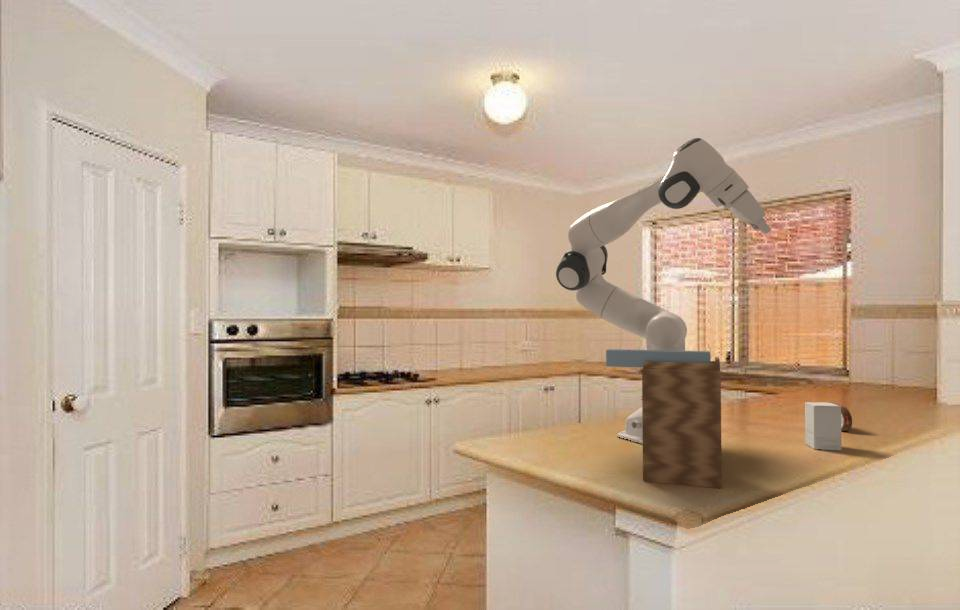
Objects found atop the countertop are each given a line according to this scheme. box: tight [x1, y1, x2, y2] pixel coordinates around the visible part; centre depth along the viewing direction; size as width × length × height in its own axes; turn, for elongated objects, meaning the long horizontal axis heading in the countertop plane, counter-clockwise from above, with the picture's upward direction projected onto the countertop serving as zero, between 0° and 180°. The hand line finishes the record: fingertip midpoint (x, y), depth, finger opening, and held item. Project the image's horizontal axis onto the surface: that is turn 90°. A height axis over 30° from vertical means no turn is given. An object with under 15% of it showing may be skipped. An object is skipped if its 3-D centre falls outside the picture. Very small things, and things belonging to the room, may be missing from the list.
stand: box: [641, 356, 723, 489], centre depth 139 cm, size 17×14×28 cm
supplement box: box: [804, 401, 843, 451], centre depth 168 cm, size 7×7×13 cm
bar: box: [605, 348, 712, 368], centre depth 141 cm, size 24×4×4 cm, turn 70°
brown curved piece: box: [826, 401, 853, 432], centre depth 194 cm, size 15×3×8 cm, turn 179°
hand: (763, 230), depth 148 cm, fingers open, 8 cm apart
